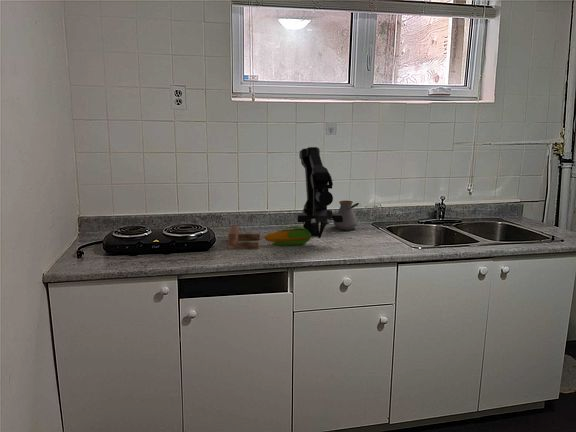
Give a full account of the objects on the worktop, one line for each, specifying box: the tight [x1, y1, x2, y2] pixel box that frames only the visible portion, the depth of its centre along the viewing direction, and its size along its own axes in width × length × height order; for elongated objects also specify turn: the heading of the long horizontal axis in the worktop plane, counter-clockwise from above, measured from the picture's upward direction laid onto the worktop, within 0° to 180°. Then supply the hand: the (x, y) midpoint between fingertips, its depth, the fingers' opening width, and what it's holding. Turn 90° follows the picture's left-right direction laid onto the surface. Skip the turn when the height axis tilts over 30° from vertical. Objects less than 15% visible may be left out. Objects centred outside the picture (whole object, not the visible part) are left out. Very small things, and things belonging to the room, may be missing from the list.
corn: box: [263, 226, 312, 247], centre depth 201 cm, size 7×8×20 cm
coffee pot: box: [333, 200, 361, 231], centre depth 225 cm, size 21×12×15 cm, turn 13°
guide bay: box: [227, 225, 261, 250], centre depth 202 cm, size 12×15×6 cm
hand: (319, 237), depth 203 cm, fingers closed
